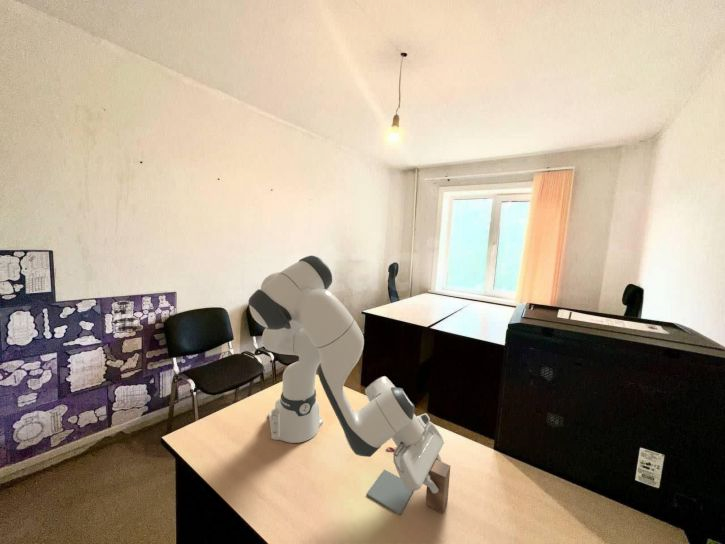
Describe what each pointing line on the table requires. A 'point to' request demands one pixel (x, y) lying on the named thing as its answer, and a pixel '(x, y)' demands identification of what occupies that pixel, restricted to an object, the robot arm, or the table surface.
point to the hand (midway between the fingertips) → (440, 482)
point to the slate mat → (390, 492)
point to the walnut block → (441, 476)
